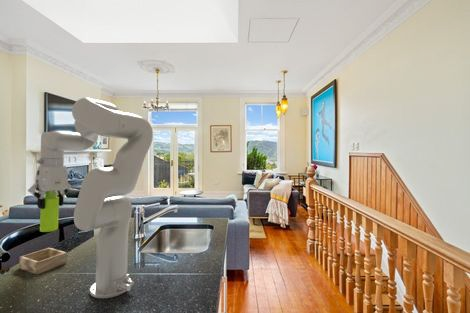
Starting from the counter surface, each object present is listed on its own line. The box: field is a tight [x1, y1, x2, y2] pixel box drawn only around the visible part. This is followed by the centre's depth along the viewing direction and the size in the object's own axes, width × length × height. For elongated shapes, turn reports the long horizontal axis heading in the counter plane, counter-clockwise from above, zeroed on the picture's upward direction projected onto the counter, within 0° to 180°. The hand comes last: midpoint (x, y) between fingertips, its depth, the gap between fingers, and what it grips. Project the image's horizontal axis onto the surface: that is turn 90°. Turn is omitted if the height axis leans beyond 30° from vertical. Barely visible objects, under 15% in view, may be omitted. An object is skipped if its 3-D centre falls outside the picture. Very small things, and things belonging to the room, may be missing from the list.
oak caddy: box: [18, 247, 68, 275], centre depth 96 cm, size 12×11×4 cm
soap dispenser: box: [39, 182, 61, 233], centre depth 96 cm, size 6×7×20 cm
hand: (50, 206), depth 96 cm, fingers closed on soap dispenser, 5 cm apart
